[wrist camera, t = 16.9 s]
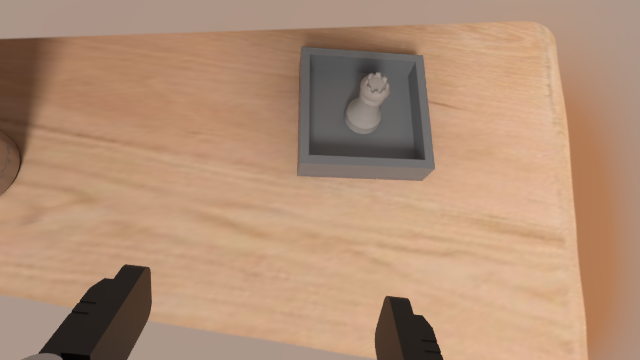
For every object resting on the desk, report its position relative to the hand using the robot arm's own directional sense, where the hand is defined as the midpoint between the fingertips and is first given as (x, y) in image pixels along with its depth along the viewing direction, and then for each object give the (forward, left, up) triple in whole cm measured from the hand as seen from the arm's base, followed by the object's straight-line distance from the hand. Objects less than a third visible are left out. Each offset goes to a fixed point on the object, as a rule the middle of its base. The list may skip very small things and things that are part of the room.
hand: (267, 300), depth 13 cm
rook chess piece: (+10, +22, -28) cm, 37 cm away
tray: (+10, +23, -29) cm, 38 cm away
